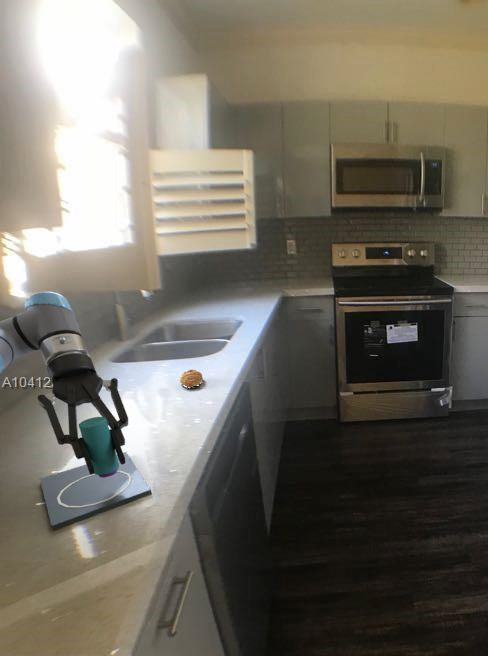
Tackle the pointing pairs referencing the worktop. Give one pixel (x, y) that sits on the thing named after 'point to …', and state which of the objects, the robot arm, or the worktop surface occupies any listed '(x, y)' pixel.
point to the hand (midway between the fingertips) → (107, 466)
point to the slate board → (90, 492)
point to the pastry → (191, 378)
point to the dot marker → (99, 446)
